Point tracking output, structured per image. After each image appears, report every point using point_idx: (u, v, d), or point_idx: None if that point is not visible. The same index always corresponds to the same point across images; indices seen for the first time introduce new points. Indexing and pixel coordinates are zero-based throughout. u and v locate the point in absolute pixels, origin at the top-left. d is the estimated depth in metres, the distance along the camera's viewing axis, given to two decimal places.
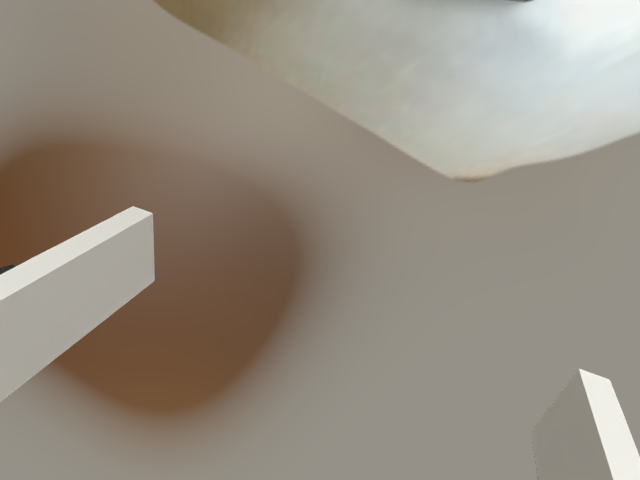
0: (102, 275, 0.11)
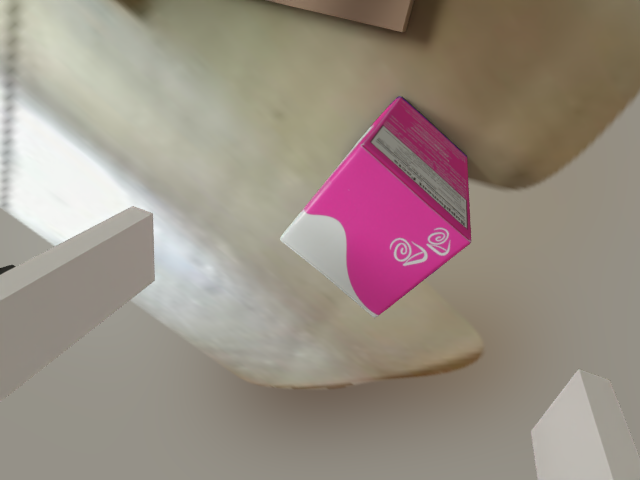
0: (102, 275, 0.11)
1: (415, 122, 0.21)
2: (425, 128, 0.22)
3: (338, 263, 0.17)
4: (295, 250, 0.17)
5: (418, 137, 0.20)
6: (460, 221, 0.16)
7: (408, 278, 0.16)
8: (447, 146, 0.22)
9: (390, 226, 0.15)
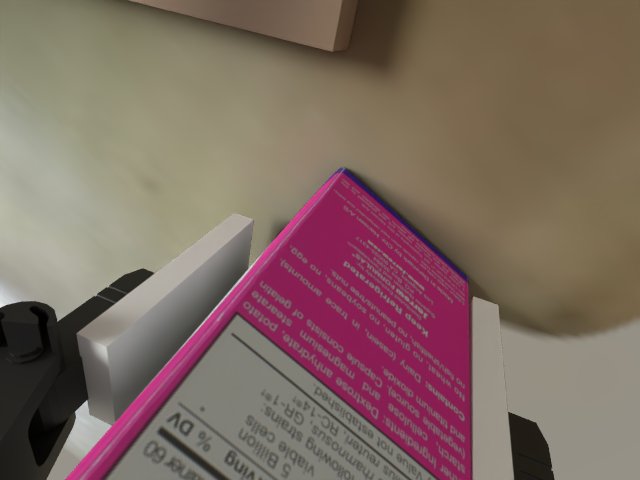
0: (217, 277, 0.12)
1: (361, 236, 0.10)
2: (384, 243, 0.11)
3: None
4: None
5: (356, 292, 0.09)
6: None
7: None
8: (429, 276, 0.11)
9: None
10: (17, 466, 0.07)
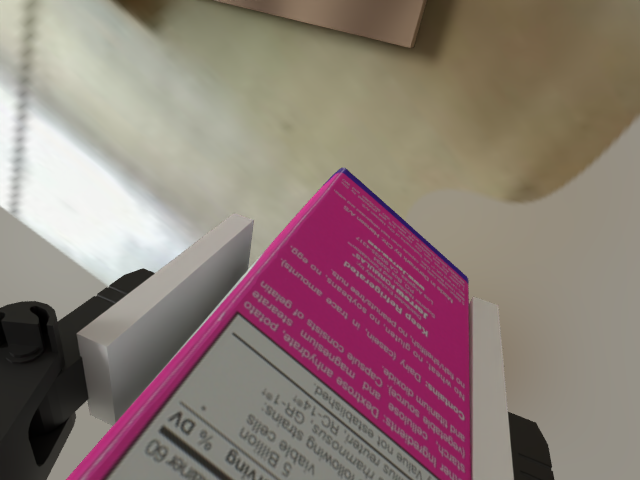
0: (217, 278, 0.12)
1: (361, 236, 0.10)
2: (384, 244, 0.11)
3: None
4: None
5: (356, 292, 0.09)
6: None
7: None
8: (429, 276, 0.11)
9: None
10: (17, 466, 0.07)
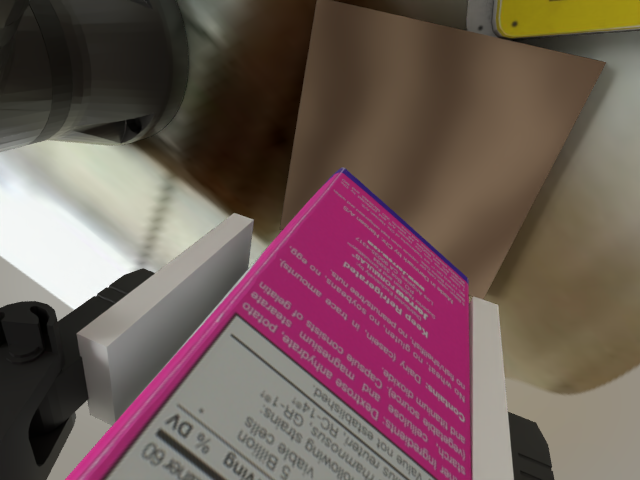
0: (217, 277, 0.12)
1: (361, 237, 0.10)
2: (384, 244, 0.11)
3: None
4: None
5: (355, 293, 0.09)
6: None
7: None
8: (429, 276, 0.11)
9: None
10: (17, 466, 0.07)
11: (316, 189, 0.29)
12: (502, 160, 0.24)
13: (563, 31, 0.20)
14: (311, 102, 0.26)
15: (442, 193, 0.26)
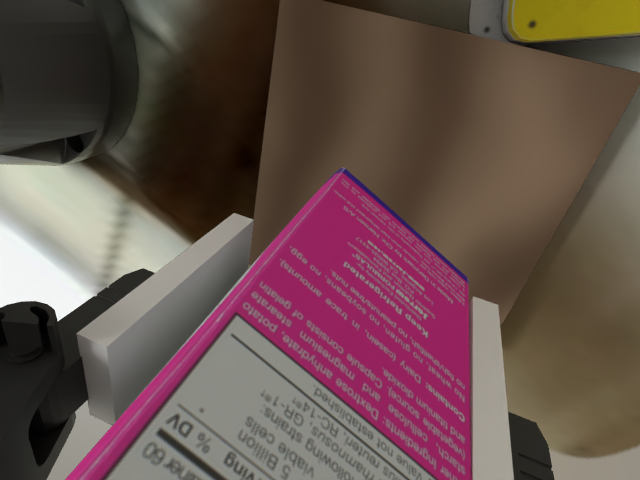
0: (217, 278, 0.12)
1: (361, 237, 0.10)
2: (384, 244, 0.11)
3: None
4: None
5: (356, 292, 0.09)
6: None
7: None
8: (429, 276, 0.11)
9: None
10: (17, 466, 0.07)
11: (287, 221, 0.25)
12: (510, 193, 0.20)
13: (596, 34, 0.15)
14: (278, 119, 0.22)
15: (436, 229, 0.22)
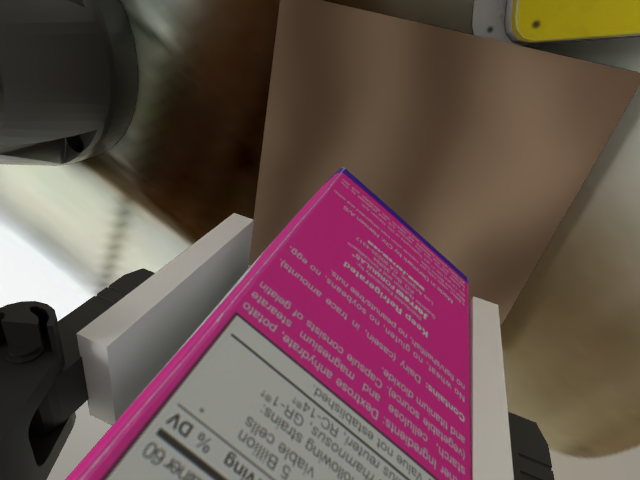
0: (217, 278, 0.12)
1: (361, 237, 0.10)
2: (384, 244, 0.11)
3: None
4: None
5: (356, 292, 0.09)
6: None
7: None
8: (429, 276, 0.11)
9: None
10: (17, 466, 0.07)
11: (287, 221, 0.25)
12: (510, 193, 0.20)
13: (600, 34, 0.15)
14: (278, 119, 0.22)
15: (436, 229, 0.22)
